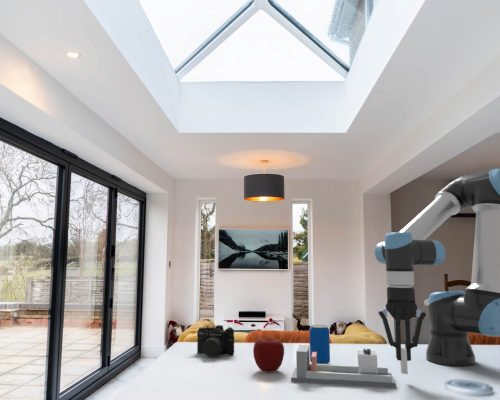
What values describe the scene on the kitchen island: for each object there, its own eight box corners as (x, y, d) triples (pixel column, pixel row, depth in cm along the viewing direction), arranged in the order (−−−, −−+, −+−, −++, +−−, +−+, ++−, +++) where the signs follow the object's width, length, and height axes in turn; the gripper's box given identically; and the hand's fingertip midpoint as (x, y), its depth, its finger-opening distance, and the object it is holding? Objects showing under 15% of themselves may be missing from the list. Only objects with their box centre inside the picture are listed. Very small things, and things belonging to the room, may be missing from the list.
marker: (316, 369, 129) (316, 352, 130) (315, 375, 123) (315, 356, 124) (312, 369, 129) (312, 351, 130) (311, 374, 123) (311, 356, 124)
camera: (188, 357, 153) (188, 327, 154) (200, 351, 163) (201, 323, 164) (225, 360, 148) (225, 330, 150) (236, 353, 158) (236, 325, 160)
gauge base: (391, 377, 127) (390, 348, 128) (396, 388, 116) (394, 356, 117) (295, 372, 132) (294, 344, 134) (291, 382, 122) (290, 351, 123)
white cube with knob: (376, 373, 125) (375, 347, 126) (377, 378, 120) (376, 351, 121) (358, 372, 126) (357, 347, 127) (359, 377, 121) (358, 350, 122)
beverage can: (329, 366, 139) (329, 327, 141) (309, 365, 141) (308, 327, 142) (330, 361, 146) (329, 324, 147) (310, 360, 147) (310, 324, 149)
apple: (274, 377, 127) (274, 341, 128) (247, 372, 132) (247, 338, 133) (289, 370, 135) (289, 336, 136) (263, 366, 140) (262, 333, 141)
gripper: (422, 285, 127) (426, 370, 124) (375, 285, 129) (378, 368, 126) (427, 287, 120) (431, 377, 116) (377, 286, 122) (381, 374, 119)
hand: (404, 372), depth 121 cm, fingers closed
